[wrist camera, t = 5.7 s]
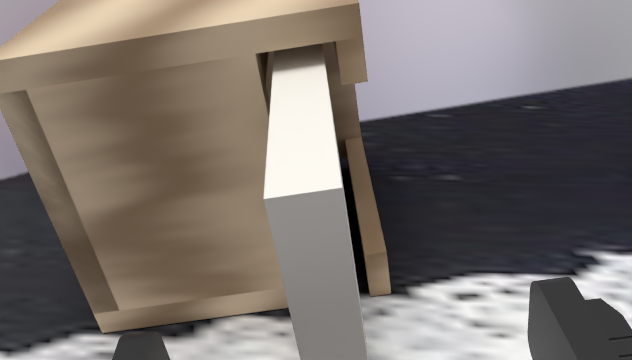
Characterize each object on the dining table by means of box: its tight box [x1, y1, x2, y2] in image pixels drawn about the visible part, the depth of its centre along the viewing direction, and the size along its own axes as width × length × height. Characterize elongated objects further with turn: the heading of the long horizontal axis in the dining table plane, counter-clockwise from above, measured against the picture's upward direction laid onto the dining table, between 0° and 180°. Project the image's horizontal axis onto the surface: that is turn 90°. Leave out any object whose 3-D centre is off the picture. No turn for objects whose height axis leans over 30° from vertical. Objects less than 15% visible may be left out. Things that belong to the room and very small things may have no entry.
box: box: [0, 0, 391, 333], centre depth 25 cm, size 11×10×11 cm
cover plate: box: [264, 43, 369, 360], centre depth 19 cm, size 2×11×9 cm, turn 2°
